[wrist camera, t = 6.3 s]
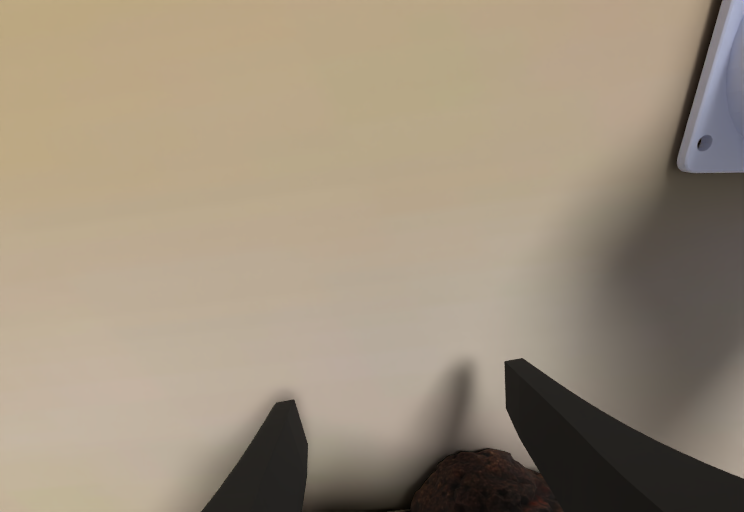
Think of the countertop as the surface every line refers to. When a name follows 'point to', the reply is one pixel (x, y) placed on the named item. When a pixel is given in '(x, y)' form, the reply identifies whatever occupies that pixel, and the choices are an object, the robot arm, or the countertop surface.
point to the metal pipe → (483, 486)
